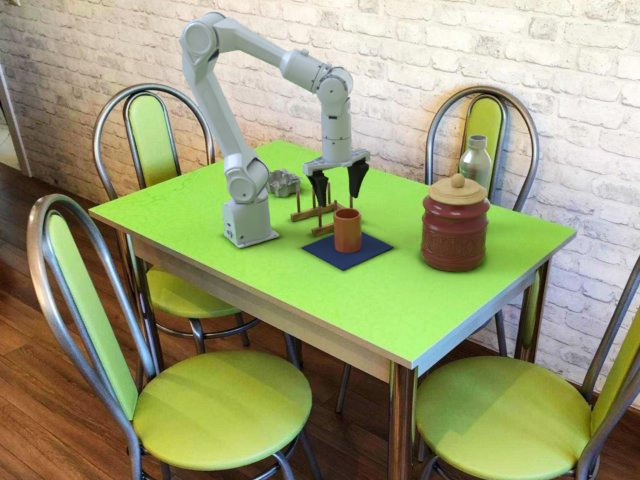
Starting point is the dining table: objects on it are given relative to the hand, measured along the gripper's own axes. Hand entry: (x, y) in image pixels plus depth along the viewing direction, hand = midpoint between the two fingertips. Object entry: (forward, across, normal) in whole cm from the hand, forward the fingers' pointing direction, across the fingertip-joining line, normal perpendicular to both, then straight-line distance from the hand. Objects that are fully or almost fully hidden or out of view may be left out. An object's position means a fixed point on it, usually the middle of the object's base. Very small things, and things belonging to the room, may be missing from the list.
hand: (338, 201), depth 141 cm
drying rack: (+9, +3, +10) cm, 14 cm away
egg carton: (+10, +4, +32) cm, 34 cm away
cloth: (+9, 0, -3) cm, 10 cm away
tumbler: (+9, 0, -3) cm, 10 cm away
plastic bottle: (+9, +27, -11) cm, 30 cm away
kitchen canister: (+9, +15, -19) cm, 26 cm away
